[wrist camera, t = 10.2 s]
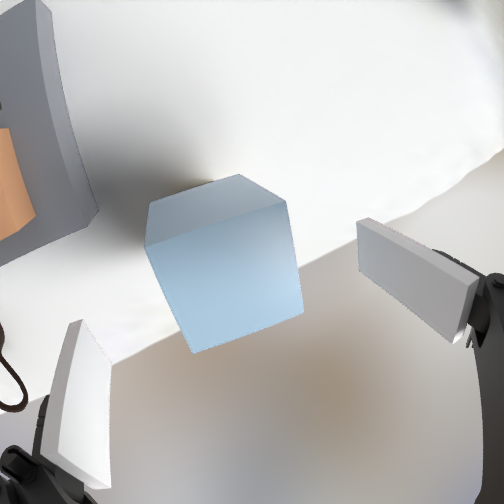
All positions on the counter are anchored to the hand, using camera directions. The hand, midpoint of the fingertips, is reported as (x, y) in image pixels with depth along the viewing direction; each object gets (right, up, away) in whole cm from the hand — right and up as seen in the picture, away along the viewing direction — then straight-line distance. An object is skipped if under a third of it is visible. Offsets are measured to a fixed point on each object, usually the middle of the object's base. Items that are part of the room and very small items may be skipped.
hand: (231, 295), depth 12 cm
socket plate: (-19, +11, +3) cm, 22 cm away
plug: (-3, +5, +10) cm, 12 cm away
